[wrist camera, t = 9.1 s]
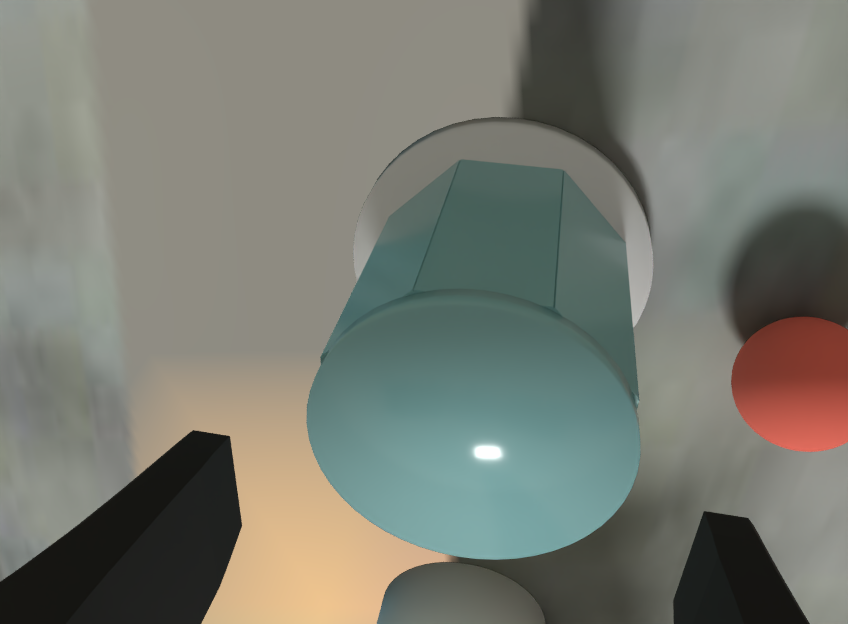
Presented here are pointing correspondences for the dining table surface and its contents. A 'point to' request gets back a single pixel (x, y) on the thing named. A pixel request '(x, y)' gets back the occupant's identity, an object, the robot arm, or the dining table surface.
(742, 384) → the red ball
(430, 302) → the teal octagonal canister
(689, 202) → the dining table surface
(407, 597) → the white rounded cylinder
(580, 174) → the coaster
